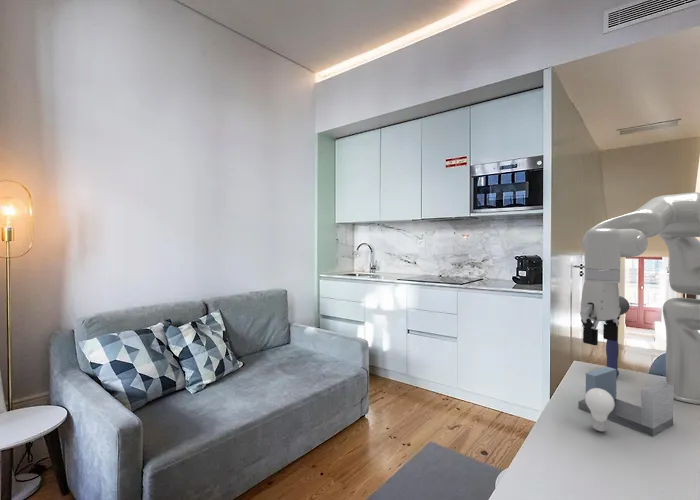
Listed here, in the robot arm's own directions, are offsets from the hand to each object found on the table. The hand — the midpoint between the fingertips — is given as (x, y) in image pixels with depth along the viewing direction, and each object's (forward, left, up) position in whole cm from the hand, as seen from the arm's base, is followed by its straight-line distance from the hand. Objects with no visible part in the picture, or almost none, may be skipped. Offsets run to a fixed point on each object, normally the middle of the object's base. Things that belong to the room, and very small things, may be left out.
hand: (600, 342), depth 92 cm
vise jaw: (-15, -7, -21) cm, 27 cm away
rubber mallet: (-46, -18, -24) cm, 55 cm away
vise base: (-15, -1, -23) cm, 28 cm away
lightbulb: (0, 0, -24) cm, 24 cm away
